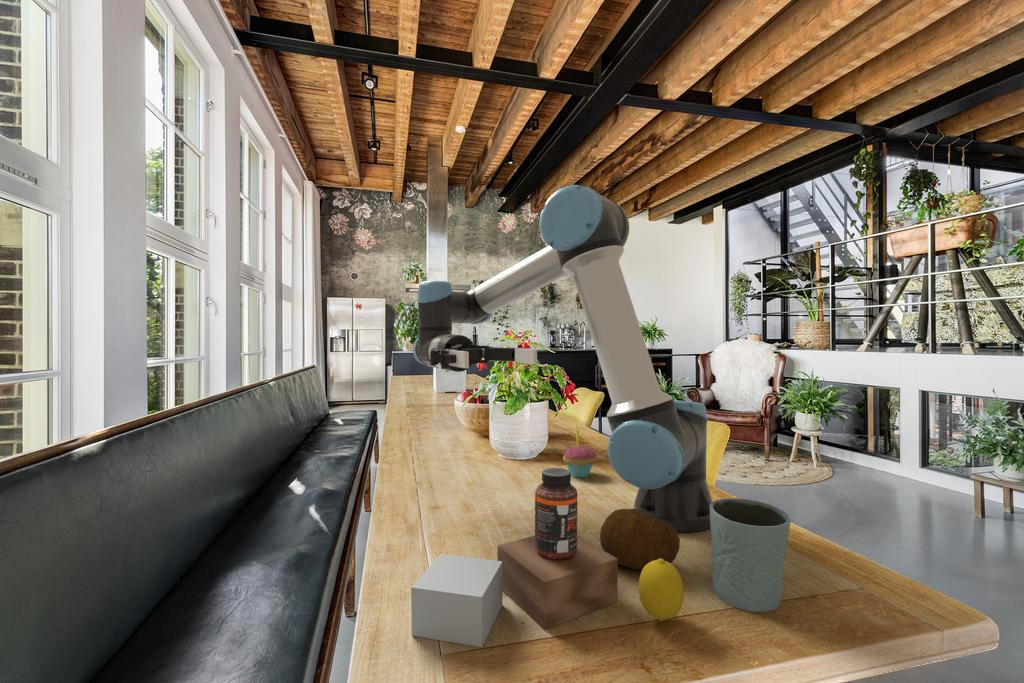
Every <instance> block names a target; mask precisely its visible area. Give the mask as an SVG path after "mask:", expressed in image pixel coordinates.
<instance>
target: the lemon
mask: <svg viewBox="0 0 1024 683" xmlns="http://www.w3.org/2000/svg"><path fill="white" fill-rule="evenodd" d="M683 584H684V583H683V580H682V577H681V574H680V573H679V570H678V569H677V568H676V567H675V566H674V565H673V564H672V563H669V562H666V561H664V560H663V559H661V558H660V559H658V560H654V561H651V562H649V563H648V564H646V565H645V567H644V568H643V569H642V570H641V572H640V576H639V580H638V584H637V586H638V588H637V589H638V590H637V591H638V596H639V597H638V598H639V601H640V603H641V606H642V607H643V609H644V610H645V612H646V613H647V614H649V615H650V616H651V617H653V618H655V619H657V621H658V622H661V623H662V622H664V621H665V620H667V621H668V620H670V619H672V618H674V617H676V616H677V615H678V614H679V612H680V611H681V609H682V606H683V603H684V596H685V591H684V590H685V589H684V585H683Z"/></svg>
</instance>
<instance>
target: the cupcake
mask: <svg viewBox="0 0 1024 683" xmlns="http://www.w3.org/2000/svg"><path fill="white" fill-rule="evenodd" d="M575 427H576V429H575V435H576V436H575V438H576V445H575V446H571V447H569V448H567V449H566V450H565V451H564V452H563V457H562V460H563V461H564V463H565V464H566V465H567V468H568V469H567V470H569V471H570V473H571V477H573V478H580V479H581V478H586V477H587V478H588V477H589V476H590V473H591V469H592V466H593V465H594V464H595V463H597V461H598V457H597V456H598V455H597V453H596V452H595V451H594V450H593V449H591V448H589V447H586V446H580V435H579V434H580V433H579V432H580V431H579V429H578V425H576V426H575Z"/></svg>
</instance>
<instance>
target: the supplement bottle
mask: <svg viewBox="0 0 1024 683" xmlns="http://www.w3.org/2000/svg"><path fill="white" fill-rule="evenodd" d="M571 477H572V476H571V473H570V471H569V469H565V468H559V467H550V468H546V469H545V468H544V469H543V470H542V472H541V481H542V483H540V484H539V485H538V486H537V487H536V488H535V490H534V491H535V492H534V497H535V498H534V536H535V549H536V551H537V553H539V554H540V555H541V556H544V557H546V558H551V559H566V558H569V557H571V556H573V555H574V554H575V553H576V551H577V535H578V490H577V488H576V487H575V486H574V485H572V482H571V481H572V479H571Z"/></svg>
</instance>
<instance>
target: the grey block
mask: <svg viewBox="0 0 1024 683" xmlns="http://www.w3.org/2000/svg"><path fill="white" fill-rule="evenodd" d="M503 593H504V592H503V583H502V561H498V560H494V559H484V558H479V557H478V558H476V557H469V556H459V555H454V554H453V555H451V554H445V553H439V554H438V555H437V557H436V558H435V559H434V560H433V561H432V563H431V564H430V565H429V566H428V567H427V569H425V571H424V572H423V573H422V574H421V575H420V577H418V579H417V580H416V581H415V582H414V583H413V585H412V586H411V588H410V594H411V595H410V596H411V599H410V600H411V603H410V604H411V609H410V610H411V636H412V637H418V638H425V639H430V640H435V641H442V642H448V643H453V644H454V643H455V644H458V645H459V644H460V645H466V646H472V647H478V648H483V646H484V644H485V642H486V640H487V638H488V636H489V634H490V632H491V630H492V628H493V626H494V623H495V622H496V621H497V620H496V619H497V618H498V616H499V614H500V612H501V609H502V608H503V605H504V604H503V603H504V602H503V600H504V599H503Z"/></svg>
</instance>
